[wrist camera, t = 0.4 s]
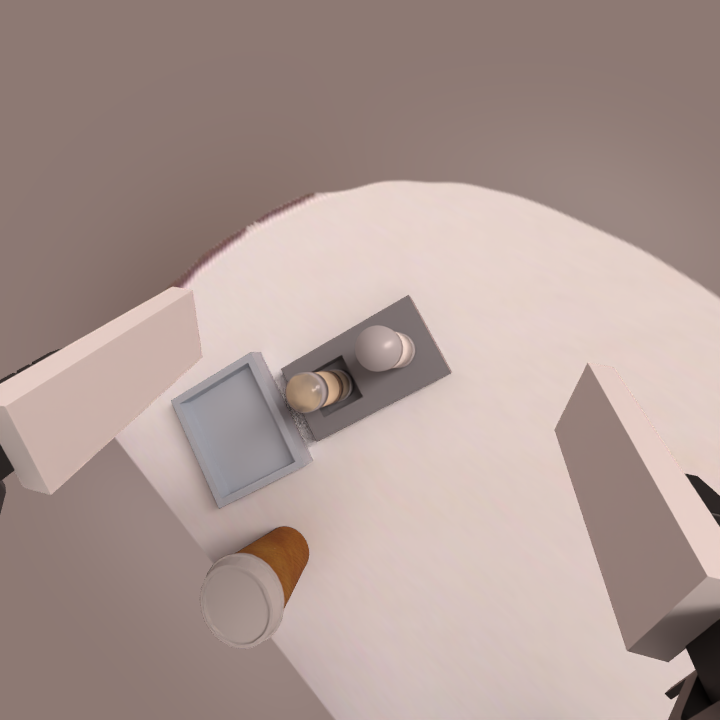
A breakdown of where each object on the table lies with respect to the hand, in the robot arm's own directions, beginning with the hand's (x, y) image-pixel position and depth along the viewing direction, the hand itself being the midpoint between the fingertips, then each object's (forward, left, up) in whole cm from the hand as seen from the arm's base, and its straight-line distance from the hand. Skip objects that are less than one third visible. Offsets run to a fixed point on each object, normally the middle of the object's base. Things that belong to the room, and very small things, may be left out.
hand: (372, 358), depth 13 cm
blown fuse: (+3, +12, -33) cm, 36 cm away
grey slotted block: (+3, +8, -34) cm, 35 cm away
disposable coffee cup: (-13, +29, -34) cm, 47 cm away
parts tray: (+4, +27, -34) cm, 44 cm away
